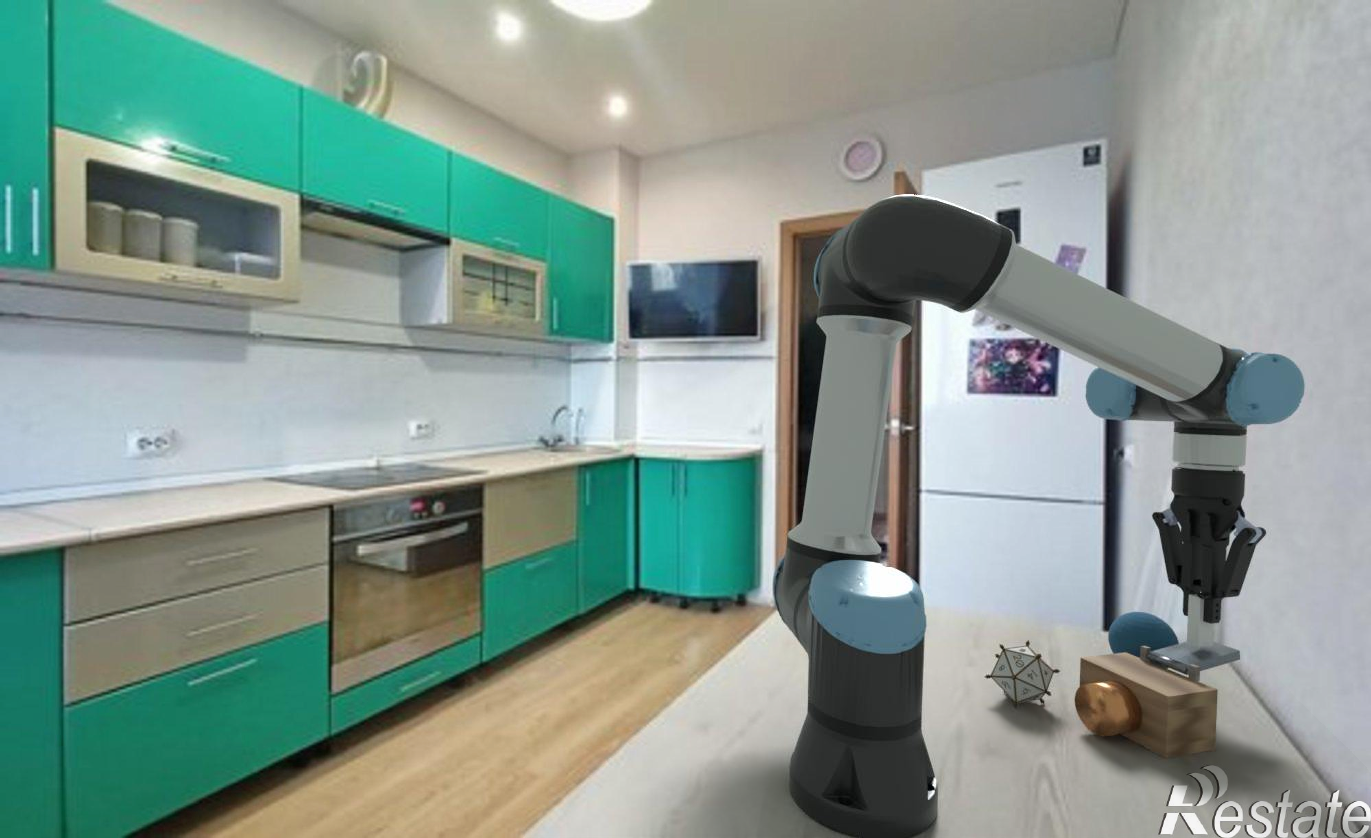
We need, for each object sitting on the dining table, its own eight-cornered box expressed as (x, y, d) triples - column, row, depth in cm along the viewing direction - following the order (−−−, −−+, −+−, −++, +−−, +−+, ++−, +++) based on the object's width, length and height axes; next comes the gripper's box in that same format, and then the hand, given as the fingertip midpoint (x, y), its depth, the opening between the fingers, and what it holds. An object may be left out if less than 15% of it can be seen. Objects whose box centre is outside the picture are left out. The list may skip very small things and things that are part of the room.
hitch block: (1165, 758, 77) (1168, 681, 77) (1078, 711, 88) (1081, 644, 88) (1217, 748, 79) (1220, 674, 79) (1126, 704, 91) (1128, 639, 90)
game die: (1035, 733, 90) (1076, 695, 84) (974, 705, 91) (1010, 666, 85) (1031, 680, 97) (1069, 641, 91) (975, 655, 98) (1008, 615, 92)
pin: (1116, 745, 79) (1117, 696, 78) (1073, 721, 84) (1075, 676, 84) (1212, 729, 83) (1214, 682, 83) (1166, 707, 89) (1168, 664, 89)
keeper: (1184, 675, 82) (1183, 666, 82) (1148, 660, 87) (1147, 652, 87) (1240, 659, 85) (1239, 650, 85) (1201, 645, 90) (1201, 637, 89)
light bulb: (1096, 680, 99) (1099, 602, 98) (1158, 686, 97) (1161, 606, 97) (1121, 705, 90) (1124, 620, 90) (1189, 712, 89) (1193, 625, 88)
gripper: (1285, 472, 80) (1276, 660, 81) (1179, 462, 93) (1172, 625, 93) (1241, 472, 78) (1232, 666, 79) (1139, 462, 91) (1132, 629, 91)
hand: (1199, 643), depth 86 cm, fingers closed
